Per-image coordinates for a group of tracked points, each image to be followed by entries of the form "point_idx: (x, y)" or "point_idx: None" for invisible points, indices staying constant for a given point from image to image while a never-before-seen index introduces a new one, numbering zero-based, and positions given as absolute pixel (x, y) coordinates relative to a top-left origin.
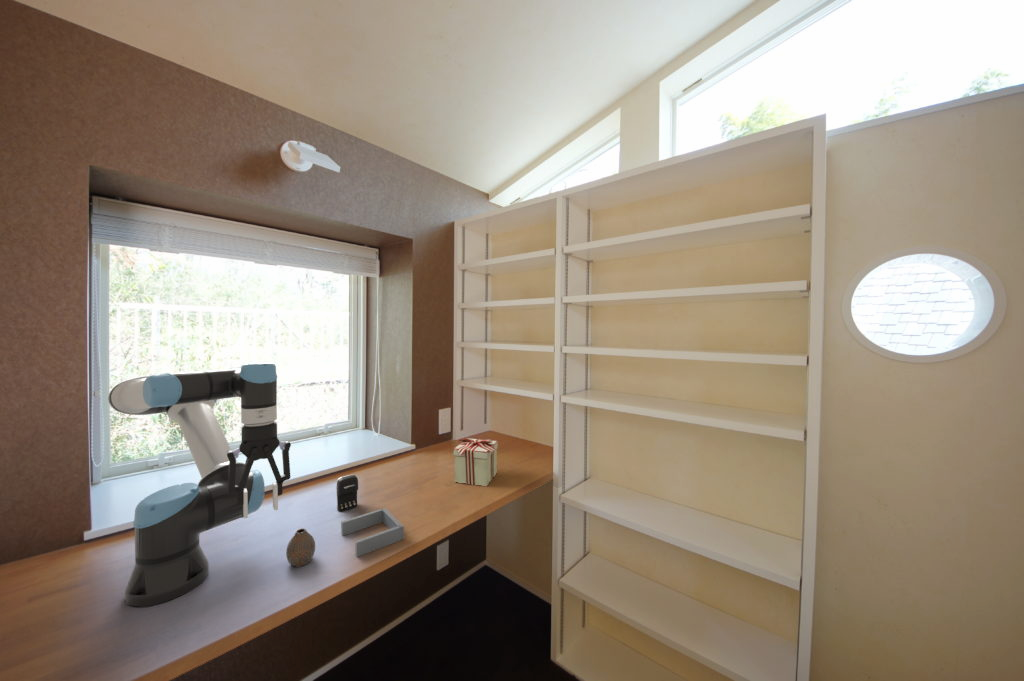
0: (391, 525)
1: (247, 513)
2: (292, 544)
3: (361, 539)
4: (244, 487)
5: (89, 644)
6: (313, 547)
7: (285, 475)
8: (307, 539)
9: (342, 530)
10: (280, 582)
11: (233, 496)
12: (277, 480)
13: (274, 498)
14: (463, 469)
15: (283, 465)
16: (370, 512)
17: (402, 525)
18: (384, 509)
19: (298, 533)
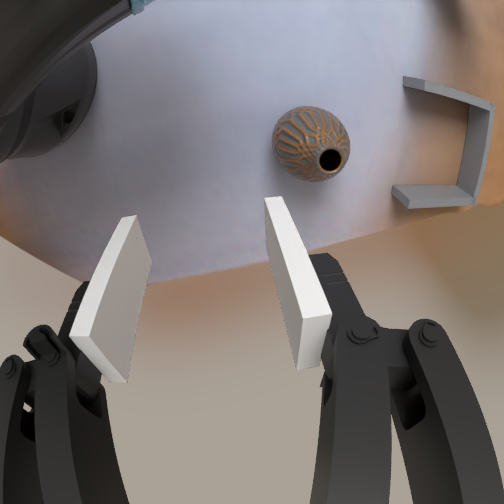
0: (472, 157)
1: (147, 276)
2: (294, 168)
3: (419, 201)
4: (106, 411)
5: (11, 210)
6: (337, 165)
7: (391, 402)
8: (334, 175)
9: (411, 87)
10: (249, 189)
11: (23, 46)
12: (328, 395)
13: (279, 297)
14: None
15: (432, 456)
16: (475, 97)
17: (476, 201)
18: (492, 111)
19: (320, 171)
